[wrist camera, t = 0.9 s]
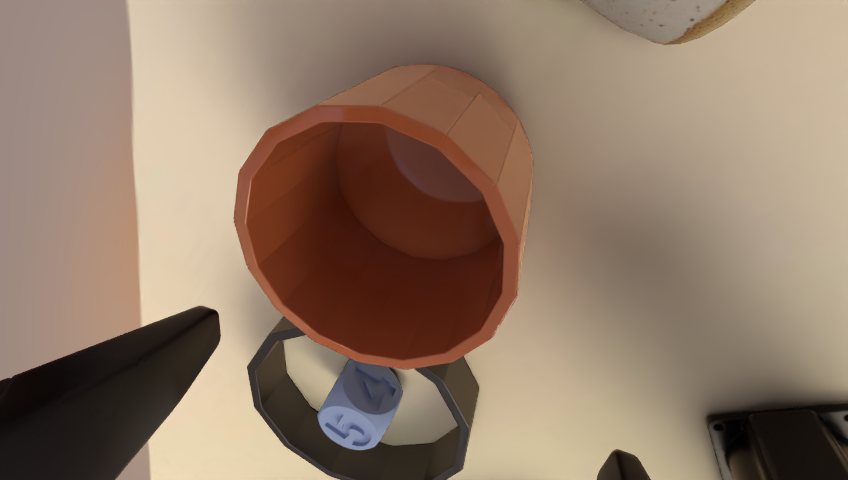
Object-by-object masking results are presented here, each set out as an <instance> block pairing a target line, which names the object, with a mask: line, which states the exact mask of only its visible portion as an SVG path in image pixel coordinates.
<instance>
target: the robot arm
mask: <svg viewBox="0 0 848 480" xmlns="http://www.w3.org/2000/svg"><path fill="white" fill-rule="evenodd" d="M220 337H221V334H220V324H219V315H218V313H217V311H216V310H213V309H211V308H208V307H205V306H197V307H194V308H191V309H189V310H186V311H183V312H181V313H178V314H176V315H173V316H170V317H168V318H165V319H162V320H160V321H157V322H154V323H152V324H149V325H147V326H144V327H141V328H139V329H136V330H133V331H131V332H128V333H125V334H123V335H120V336H117V337H115V338H112V339H110V340H107V341H104V342H102V343H99V344H96V345H94V346H91V347H88V348H86V349H83V350H81V351H78V352H75V353H73V354H70V355H67V356H65V357H62V358H60V359H57V360H54V361H52V362H49V363H46V364H44V365H41V366H39V367H36V368H33V369H30V370H28V371H25V372H22V373H20V374H17V375H15V376H13V377H12V378H7V379H4V380H1V381H0V480H115V479H116V478H117V477H118V476H119V475H120V473H121V472H122V471H123V470H124V468H125V467H126V466H127V465H128V463H129V462H130V461H131V460H132V459H133V458H134V456H135V455H136V454H137V453H138V452H139V450H140V449H141V448H142V447H143V445H144V444H145V443H146V442H147V441H148V440H149V438H150V437H151V436H152V435H153V434H154V432H155V431H156V430H157V429H158V428H159V426H160V425H161V424H162V423H163V422H164V420H165V419H166V418H167V417H168V416H169V414H170V413H171V412H172V411H173V409H174V408H175V407H176V406H177V404H178V403H179V402H180V400H181V399H182V398H183V396H184V395H185V393H186V392H187V390H188V389H189V388H190V386H191V385H192V383H193V382H194V380H195V379H196V377H197V376H198V374H199V373H200V371H201V370H202V368H203V367H204V365H205V364H206V362H207V361H208V359H209V358H210V356H211V355H212V354H213V352H214V351H215V349H216V348H217V346H218V344H219V341H220ZM706 422H707V426H708V429H709V433H710V436H711V440H712V444H713V447H714V451H715V454H716V458H717V461H718V465H719V468H720V472H721V476H722V479H723V480H848V404H838V405H826V406H814V407H802V408H789V409H777V410H765V411H753V412H741V413H729V414H717V415H711V416H709V417H708V418H707V420H706ZM597 480H651V479H650V478H649V476H648V474H647V473H646V471H645V469H644V467H643V466H642V464H641V462H640V461H639V459H638V458H637V457H636V456H635V455H633V454H630V453H627V452H624V451H621V450H618V449H616V450H614V451H613V452H612V453H611V454H610V456H609V457H608V459H607V460H606V462H605V463H604V465H603V466H602V468H601V469H600V471H599V473H598V476H597Z"/></svg>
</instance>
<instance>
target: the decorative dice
mask: <svg viewBox="0 0 848 480" xmlns="http://www.w3.org/2000/svg"><path fill="white" fill-rule="evenodd" d="M402 394H403V391H402V387H401V385H400V382H399V380H398V379H397V377H396V375H395V374H394V373H393V372H392V371H391V370H390V369H389V368H388V367H386V366H380V365H374V364H368V363H362V362H359V361H355V360H353V359H351V360H349V361H348V362H347V364H346V366H345V367H344V369H343V371H342V373H341V374H340V376H339V378H338V379H337V381H336V383H335V385H334V386H333V388H332V390H331V391H330V393H329V395H328V397H327V398H326V400H325V402H324V404H323V405H322V407H321V409H320V411H319V412H318V414H317V417H318V421H319V424H320V426H321V428H322V430H323V431H324V433H325V434H326V435H327V436H328V437H329V438H330V439H331V440H333V441H334V442H336V443H337V444H339V445H341V446H343V447H346V448H349V449H353V450H366V449H370V448H373V447H375V446H376V445H377V444H378V442H379V441H380V439H381V438H382V436H383V435H384V433H385V431H386V430H387V428H388V426H389V424H390V422H391V421H392V419H393V417H394V414H395V412H396V410H397V408H398V406H399V403H400V400H401V398H402Z"/></svg>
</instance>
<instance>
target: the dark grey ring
mask: <svg viewBox="0 0 848 480" xmlns="http://www.w3.org/2000/svg"><path fill="white" fill-rule="evenodd" d="M304 335H306V334H305V333H304V332H303V331H301V330H300V329H299V328H298V327H297V326H295V325H294V324H293V323H292V322H291V321H290V320H288V319H287V318H286V317H285V316H284V317H283V318H282V319H281V321H280V322H279V323H278V324H277V325H276V327H275V328H274V329H273V330H272V331H271V333H270V334H269V335H268V336H267V338H266V339H265V341H264V342H263V344H262V345H261V347H260V348H259V350H258V351H257V353H256V354H255V356H254V357H253V359H252V360H251V362H250V363H249V364H248V366H247V369H248V375H249V380H250V386H251V391H252V397H253V402H254V407H255V409H256V410H257V411H258V413H259V414H260V415H261V416H262V418H263V419H264V420H265V422H266V423H267V424H268V425H269V427H270V428H271V429H272V431H273V432H274V433H275V434H276V436H277V437H278V438H279V440H280V441H281V442H282V443H283V445H284V446H285V447H287V448H288V449H290V450H291V451H293V452H294V453H296V454H297V455H299V456H300V457H302V458H303V459H305V460H306V461H308V462H309V463H311V464H312V465H314V466H315V467H316V468H318V469H319V470H321V471H322V472H324V473H325V474H327V475H329V476H331V477H334V478H337V479H340V480H447V479H448V478H450V477H451V476H453V475H455V474H456V473H458V472H459V471H461V470H462V469H463V466H464V461H465V456H466V451H467V446H468V441H469V437H470V432H471V427H472V422H473V417H474V412H475V407H476V402H477V397H478V392H479V386H478V384H477V382H476V380H475V378H474V376H473V374H472V373H471V371H470V369H469V367H468V365H467V363H466V361H465V359H464V357H463V356H462V357H460V358H459V359H457V360H456V361H454V362H451V363H446V364H439V365H433V366H427V367H421V368H414V369H415V370H417V371H418V372H419V373H421V374H422V375H424V376H425V377H426V378H428V379H429V380H430V381H432V382H433V383H435V385H436V386H437V388H438V390H439V392H440V393H441V395H442V397H443V399H444V401H445V402H446V404H447V406H448V408H449V409H450V411H451V413H452V415H453V417H454V418H455V420H456V422H457V424H458V425H459V426H458V427H456V428H455V429H454V430H452V431H451V432H449V433H448V434H447V435H445V436H444V437H442V438H441V439H440V440H438V441H437V442H435V443H434V444H422V445H409V446H396V447H392V446H389V445H386V444H382V443H379V442H378V444H377V445H376V446H375V447H373V448H370V449H366V450H353V449H349V448H346V447H343V446H341V445H339V444H337V443H336V442H334V441H333V440H331V439H330V438H329V437H328V436H327V435H326V434H325V433H324V431H323V430H322V428H321V426H320V424H319V421H318V417H317V414H318V412H317V411H315V410H314V409H312V408H311V407H310V406H309V404H308V403H307V401H306V400H305V399H304V397H303V396H302V394H301V393H300V392H299V390H298V389H297V387H296V386H295V385H294V383H293V382H292V380H291V379H290V378H289V376H288V375H287V373H286V364H285V356H284V347H283V340H286V339H290V338H295V337H299V336H304Z"/></svg>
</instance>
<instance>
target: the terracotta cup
mask: <svg viewBox="0 0 848 480" xmlns="http://www.w3.org/2000/svg"><path fill="white" fill-rule="evenodd" d="M533 167H534V163H533V158H532V154H531V149H530V145H529V142H528V138H527V136H526V133H525V131H524V129H523V127H522V124H521V123H520V121H519V119H518V118H517V116H516V115H515V113H514V111H513V110H512V109H511V108H510V106H509V105H508V104H507V103H506V102H505V100H504V99H503V98H502V97H501V96H500V95H499V94H497V93H496V92H495V91H494V90H493V89H492V88H491V87H489V86H488V85H486V84H485V83H483V82H482V81H481V80H479V79H477V78H475V77H473V76H471V75H469V74H467V73H465V72H462V71H459V70H457V69H454V68H450V67H445V66H440V65H431V64H416V65H407V66H397V67H394V68H392V69H390V70H387V71H385V72H383V73H381V74H379V75H377V76H375V77H373V78H371V79H369V80H367V81H365V82H363V83H361V84H358V85H356V86H354V87H352V88H350V89H348V90H346V91H344V92H342V93H340V94H338V95H336V96H334V97H332V98H330V99H327V100H325V101H323V102H321V103H319V104H317V105H315V106H313V107H311V108H309V109H307V110H305V111H303V112H301V113H299V114H297V115H295V116H293V117H291V118H289V119H287V120H285V121H283V122H281V123H279V124H277V125H275V126H273V127H271V128H269V129H268V130H267V131H266V132H265V133H264V135H263V136H262V138H261V139H260V141H259V142H258V144H257V145H256V147H255V148H254V150H253V151H252V153H251V154H250V156H249V157H248V159H247V160H246V162H245V163H244V165H243V166H242V168H241V169H240V172H239V175H238V184H237V193H236V202H235V211H234V223H235V227H236V230H237V234H238V237H239V240H240V244H241V247H242V251H243V254H244V258H245V261H246V265H247V267H248V269H249V271H250V272H251V273H252V275H253V276H254V278H255V279H256V281H257V282H258V284H259V285H260V287H261V288H262V290H263V291H264V293H265V294H266V296H267V297H268V299H269V300H270V301H271V303H272V304H273V306H274V307H275V308H276V310H278V311H279V312H280V313H281V314H282V315H284V316H285V317H286V318H287V319H288V320H290V321H291V322H292V323H293V324H294V325H295V326H297V327H298V328H299V329H300V330H301V331H303V332H304V333H305V334H306V335H307V336H308V337H310V338H311V339H312V340H314V341H315V342H317V343H319V344H321V345H323V346H326V347H328V348H330V349H332V350H334V351H336V352H338V353H341V354H343V355H345V356H347V357H349V358H351V359H353V360H355V361H359V362H362V363H368V364H374V365H380V366H386V367H392V368H398V369H407V370H408V369H414V368H421V367H427V366H433V365H439V364H446V363H451V362H454V361H456V360H457V359H459V358H460V357H462V356H464V355H465V354H467V353H469V352H470V351H472V350H473V349H475V348H477V347H478V346H480V345H482V344H483V343H485V342H486V341H488V340H490V339H491V338H492V337H493V336H494V334H495V332H496V331H497V329H498V328H499V326H500V324H501V323H502V321H503V319H504V318H505V316H506V315H507V313H508V311H509V310H510V308H511V306H512V305H513V303H514V302H515V300H516V298H517V295H518V288H519V281H520V274H521V267H522V261H523V254H524V247H525V240H526V233H527V226H528V220H529V213H530V206H531V196H532V183H533Z"/></svg>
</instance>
